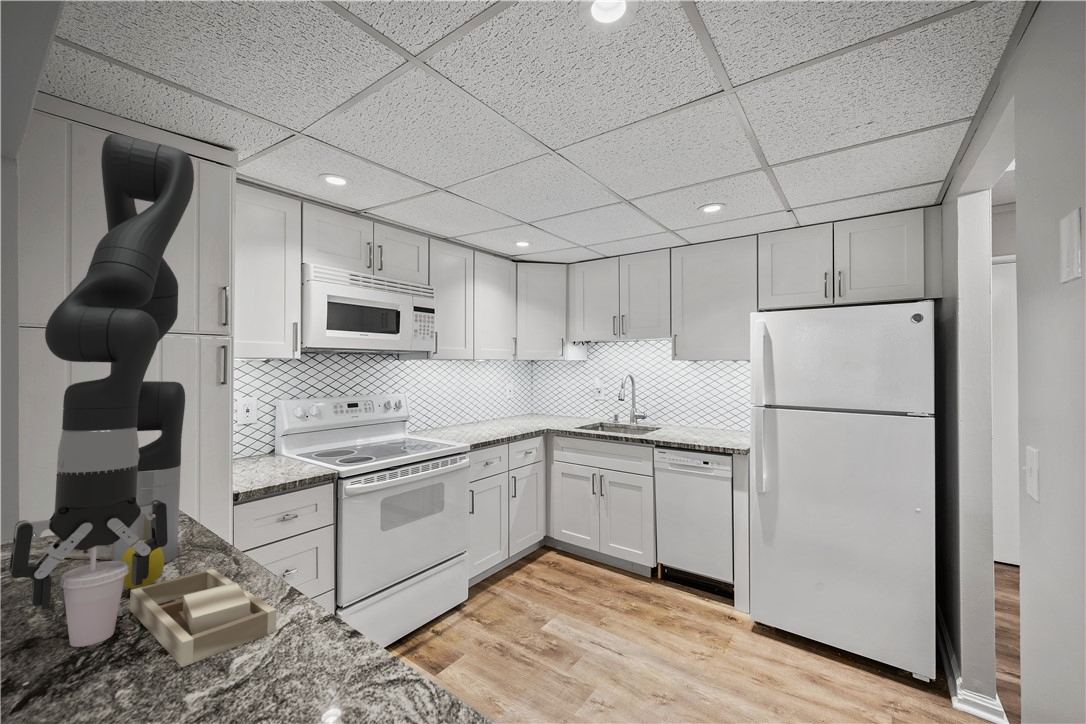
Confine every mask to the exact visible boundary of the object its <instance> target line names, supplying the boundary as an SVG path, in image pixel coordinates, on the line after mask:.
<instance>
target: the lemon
mask: <svg viewBox="0 0 1086 724" xmlns="http://www.w3.org/2000/svg"><path fill="white" fill-rule="evenodd" d="M142 541H143V542H145V541H146V540H142ZM132 554H135V550H134V549H133V548H131V547H130V548H129V549H128V550H127V551H126V552H125V553H124V555H123V557H122V559H121V561H124V562H127V563H128V564H129V573H128V574H126V575H125V579H124V585H123V586H124V587H126V588H128V589H130V590H132V589H136V588H140V587H144V586H148V585H152V584H155V583H154V582H156V581H157V580H158V579H159V578H160V577H161V575H162V573H163V571H164V567H165V563H164V555H163V552H162V550H161V548H160V547H159V548H157V549H155V550H153V551H152V552H151V553H150V556H149V574H148V577H147V579H143V582H142V584H141V585H137V586H134V585H133V584H132V581H131V576H132Z"/></svg>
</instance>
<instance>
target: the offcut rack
mask: <svg viewBox="0 0 1086 724" xmlns="http://www.w3.org/2000/svg"><path fill="white" fill-rule="evenodd" d="M231 583H235V582H234V581H233V580H232V579H229V578H228V577H226V576H225V575H223V574H222V573H221V572H219V571H218V570H216V569H214V568H210V569H206V570H202V571H198V572H193V573H191V574H187V575H183V576H180V577H175V578H172V579H168V580H164V581H159V582H156V583H152V584H151V585H148V586H144V587H140V588H136V589H130V591H129V592H130V593H129V595H130V598H129V611H130V612H131V613H132V614H133V615H134V616H135V617H136V618H137V620H139V622H140V623H141V624H142V625H143V626H144V628H146V630H147V631H148V632H149V633H150V634H151V635H152V636H153V637H154V638H155V639H156V640H157V642H159V644H160V645H161V646H162V647H163V648H164V650H166V651H167V653H168V654H169V655H170V656H171V657H172V658H173V660H175V661H176V662H177V664H178V665H179V666H180V667H181V668H183V667H186V666H189V665H192V664H195V663H197V662H199V661H202V660H205V659H207V658H210V657H213V656H214V655H218V654H220V653H223V652H225V651H228V650H230V649H231V650H232V649H233V648H236V647H238V646H241V645H243V644H246V643H249V642H251V641H254V640H257V639H259V638H261V637H264V636H267V635H269V634H272V633H274V632H276V630H277V629H276V627H277V622H276V621H277V609H276V608H274V607H273V606H272V605H269V604H268V603H266V602H265V601H264V600H262V599H260V598H259V597H258V596H256V595H255V594H252V593H251V592H249V591H248V590H247V589H245V588H243V587H242V586H240V588H241V589H242V591H243V592H244V594H245V595H246V596H247V598H248V599H249V601H250V612H251V613H252V614H253V615H250V616H247V617H244V618H241V619H238V620H235V621H233V622H230V623H227V624H224V625H221V626H218V627H215V628H212V629H210V630H207V631H204V632H201V633H198V634H195V635H192V636H190V635H189V634H188V633H187V632H186V631H185V630H184V629H183V628H182V627H181V626H179V625H178V618H179V612H181V611H183V595H187V594H191V593H195V592H199V591H203V590H207V589H211V588H215V587H219V586H223V585H227V584H231ZM181 598H182V599H181ZM177 599H178V600H177ZM174 600H175V601H174ZM170 601H171V602H170ZM166 602H169V603H166ZM161 604H162V605H161Z"/></svg>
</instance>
